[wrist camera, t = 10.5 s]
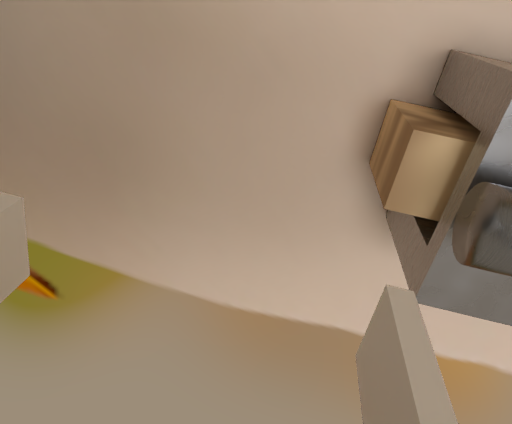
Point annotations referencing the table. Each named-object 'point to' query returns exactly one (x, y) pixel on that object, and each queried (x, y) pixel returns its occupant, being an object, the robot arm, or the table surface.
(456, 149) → the plug
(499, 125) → the housing
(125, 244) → the table surface
